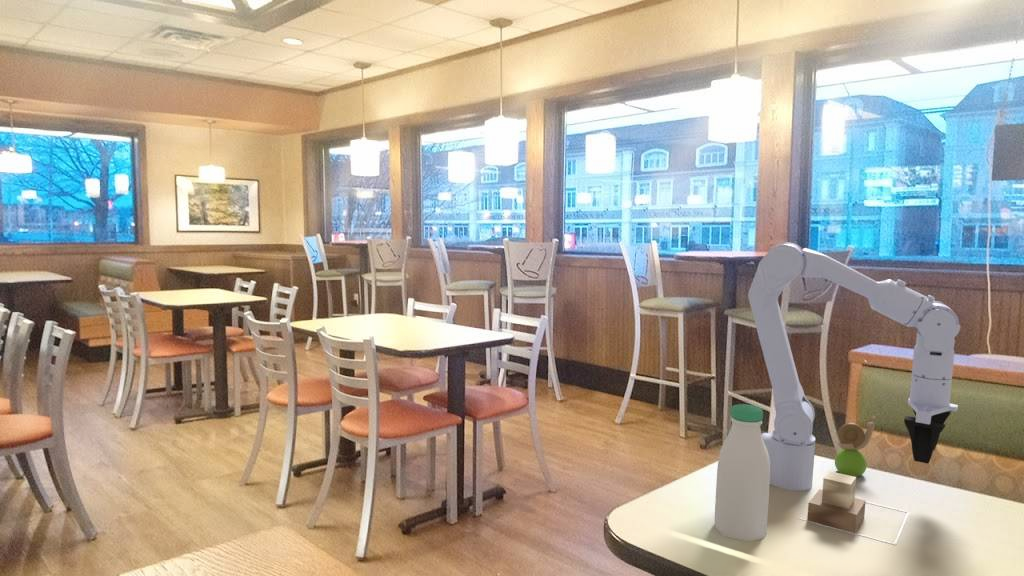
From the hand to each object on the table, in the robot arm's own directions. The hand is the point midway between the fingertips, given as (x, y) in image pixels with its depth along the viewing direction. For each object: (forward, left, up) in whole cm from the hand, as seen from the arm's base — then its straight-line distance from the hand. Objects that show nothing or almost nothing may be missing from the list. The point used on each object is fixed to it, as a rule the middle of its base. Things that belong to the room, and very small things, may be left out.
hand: (924, 455), depth 116 cm
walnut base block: (-10, -15, -9) cm, 20 cm away
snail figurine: (-12, +8, -10) cm, 17 cm away
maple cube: (-10, -15, -6) cm, 19 cm away
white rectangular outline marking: (-8, -12, -9) cm, 17 cm away
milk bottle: (-21, -28, -10) cm, 36 cm away
